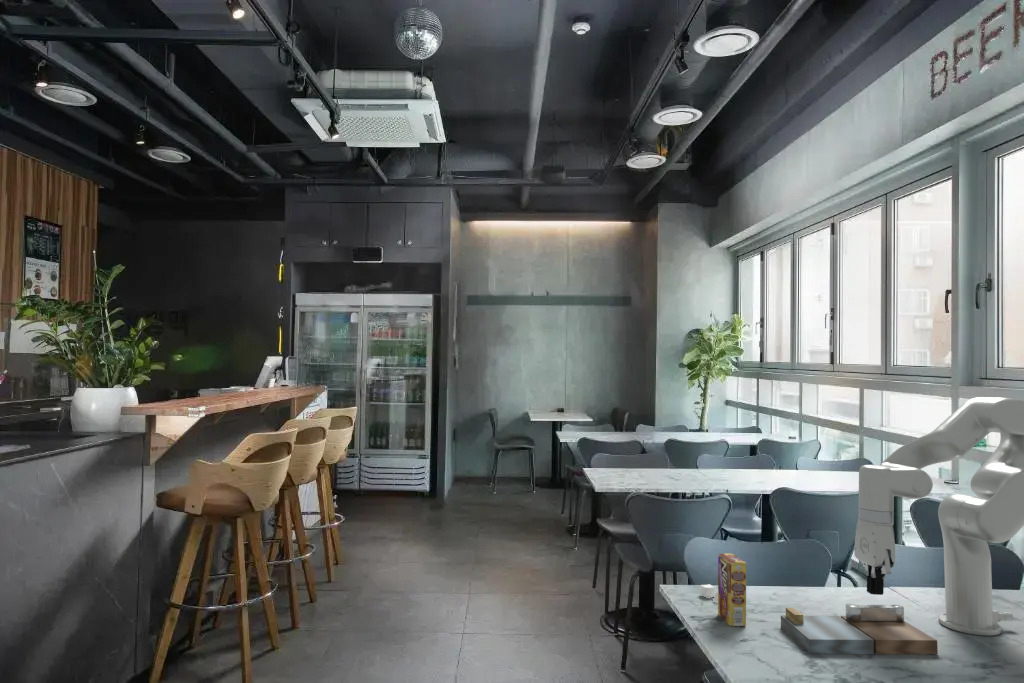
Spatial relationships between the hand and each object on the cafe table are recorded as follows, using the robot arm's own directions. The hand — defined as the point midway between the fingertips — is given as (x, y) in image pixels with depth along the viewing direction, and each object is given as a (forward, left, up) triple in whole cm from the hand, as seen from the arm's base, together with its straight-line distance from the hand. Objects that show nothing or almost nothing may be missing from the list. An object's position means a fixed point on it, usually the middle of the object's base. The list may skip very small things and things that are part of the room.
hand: (875, 593), depth 160 cm
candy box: (+33, -4, -8) cm, 35 cm away
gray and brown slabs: (+9, +8, -8) cm, 15 cm away
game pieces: (+32, -19, -9) cm, 38 cm away
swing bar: (+2, +4, -5) cm, 6 cm away
